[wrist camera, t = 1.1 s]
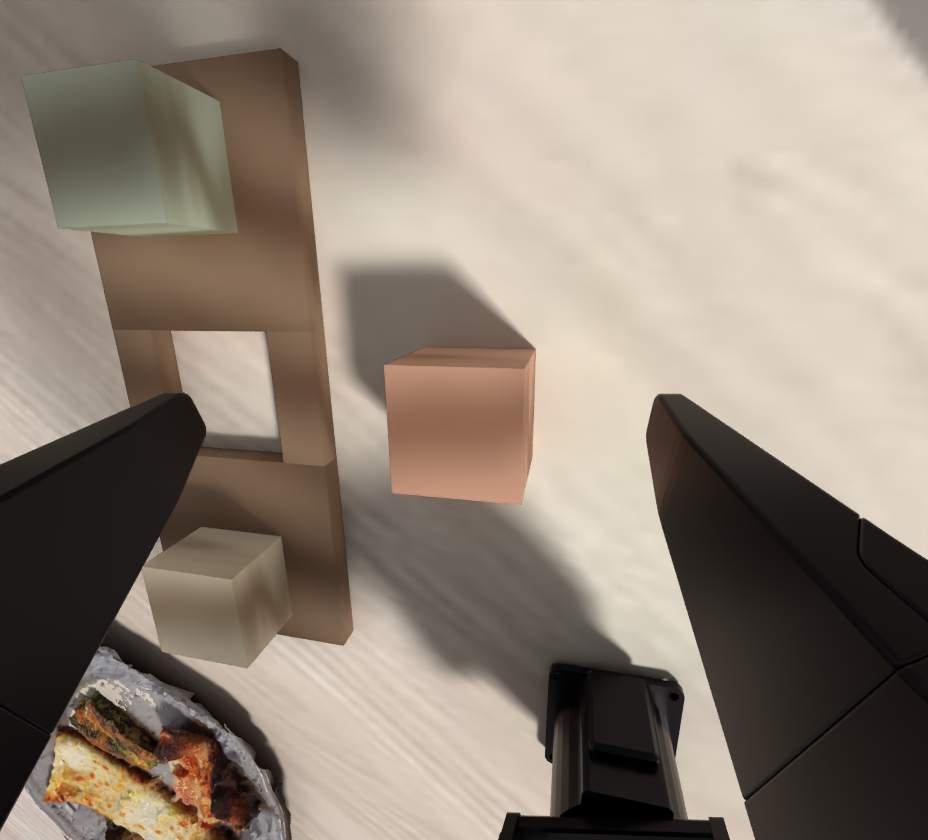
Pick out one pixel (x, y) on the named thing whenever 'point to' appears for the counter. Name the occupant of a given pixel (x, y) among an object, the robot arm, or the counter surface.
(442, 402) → the terracotta block
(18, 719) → the robot arm
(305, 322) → the puzzle board
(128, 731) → the food plate
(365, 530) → the counter surface
